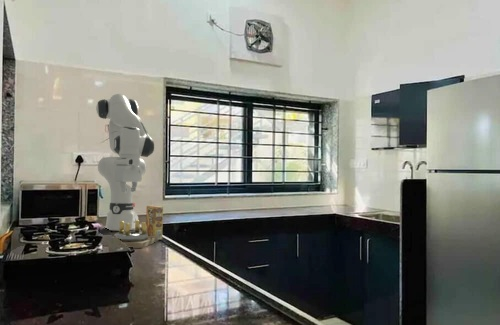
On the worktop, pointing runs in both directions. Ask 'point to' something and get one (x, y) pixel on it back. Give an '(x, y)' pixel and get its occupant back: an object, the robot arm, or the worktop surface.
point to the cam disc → (132, 232)
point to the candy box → (154, 221)
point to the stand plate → (141, 242)
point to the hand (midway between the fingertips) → (128, 192)
